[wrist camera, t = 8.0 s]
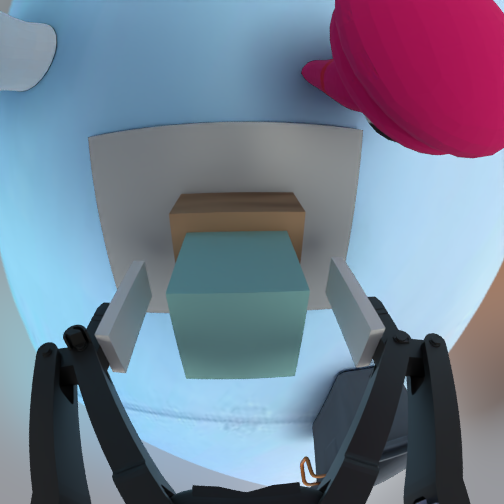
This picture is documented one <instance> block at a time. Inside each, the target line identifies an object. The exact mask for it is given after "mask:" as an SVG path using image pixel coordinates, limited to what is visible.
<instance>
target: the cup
mask: <svg viewBox="0 0 504 504" xmlns="http://www.w3.org/2000/svg"><path fill="white" fill-rule="evenodd" d="M55 49H56V34H55V31H54V29H53V28H52V27H51V26H50V25H47V24H43V23H33V22H25V21H23V20H20V19H16V18H13V17H11V16H9V15H8V14H6V13H4V12H2V11H0V91H3V90H9V91H25V90H29V89H30V88H32V87H33V86H35V85H36V84H37V83H38V82H39V81H40V80H41V79H42V77H43V76H44V74H45V73H46V72H47V70H48V68H49V66H50V64H51V62H52V60H53V57H54V54H55Z"/></svg>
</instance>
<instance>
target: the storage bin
mask: <svg viewBox="0 0 504 504" xmlns="http://www.w3.org/2000/svg"><path fill="white" fill-rule="evenodd" d="M372 370H373V368H369V369H362V370H356V371H349V372H344V373H341V374H340V375H339V376H338V377H337V378H336V381H335V383H334V385H333V387H332V389H331V392H330V394H329V396H328V398H327V400H326V402H325V404H324V406H323V407H322V409H321V411H320V413H319V415H318V417H317V418H316V420H315V422H314V424H313V426H312V427H313V438H314V450H315V462H316V475H315V474H314V472H313V470H312V467H311V463H310V460H309V458H308V457H304V458H303V460H302V461H301V463H300V469H301V476H302V482H303V483H304V485H306V486H311V487H310V488H313V489H316V490H317V488H318V486H319V485H320V483H321V482H322V480H323V479H324V477H325V476H326V474H327V472H328V471H329V469H330V467H331V465H332V463H333V461H334V459H335V457H336V456H337V454H338V452H339V450H340V448H341V445H342V443H343V441H344V439H345V437H346V435H347V433H348V431H349V428H350V426H351V424H352V422H353V419H354V417H355V415H356V412H357V410H358V407H359V405H360V402H361V400H362V397H363V395H364V392H365V390H366V387H367V384H368V382H369V379H370V377H369V376H370V374H371V372H372ZM407 447H408V394H407V390H406V388H405V386H404V384H403V388H402V392H401V396H400V399H399V403H398V407H397V410H396V414H395V417H394V421H393V424H392V427H391V430H390V433H389V436H388V439H387V442H386V445H385V448H384V450H383V453H382V456H381V458H380V461H379V464H378V467H379V468H380V469H379V474H378V476H377V479H376V481H375V484H374V486H375V485H377V484H379V483H382V482H384V481H386V480H387V479H389V478H391V477H393V476H394V475H396V474H398V473H399V472H401V471H403V470H404V469H406V465H407ZM305 461H306V463H307V466H308V469H309V472H310V475H311V476H312V477H314V478H316V479H317V482H316V483H307V482H306V479H305V472H304V462H305Z"/></svg>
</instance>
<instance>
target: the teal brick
mask: <svg viewBox="0 0 504 504" xmlns="http://www.w3.org/2000/svg"><path fill="white" fill-rule="evenodd" d="M309 293H310V289H309V287H308V284H307V281H306V279H305V276H304V273H303V271H302V268H301V265H300V263H299V260H298V258H297V255H296V252H295V250H294V247H293V245H292V242H291V240H290V237H289V235H288V232H287V231H235V232H192V233H186V235H185V238H184V241H183V244H182V246H181V249H180V252H179V255H178V258H177V261H176V264H175V266H174V269H173V272H172V275H171V278H170V281H169V284H168V287H167V290H166V298H167V303H168V308H169V312H170V317H171V321H172V325H173V330H174V334H175V338H176V342H177V346H178V350H179V354H180V357H181V361H182V365H183V368H184V372H185V375H186V379H253V378H273V377H287V376H295V372H296V367H297V362H298V357H299V352H300V346H301V341H302V335H303V330H304V324H305V318H306V312H307V306H308V300H309Z"/></svg>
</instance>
